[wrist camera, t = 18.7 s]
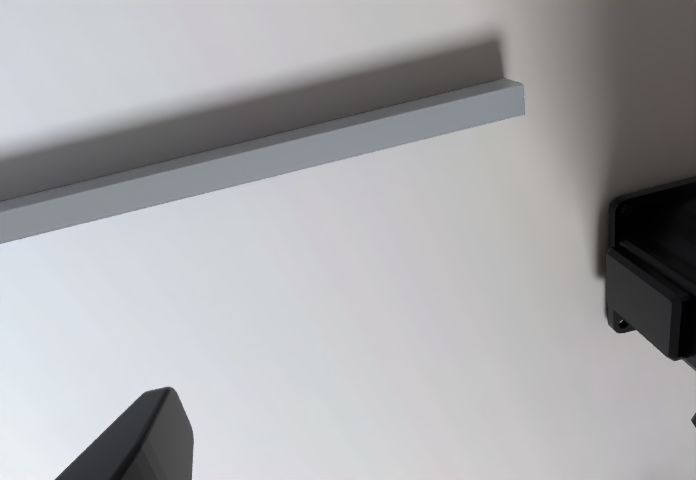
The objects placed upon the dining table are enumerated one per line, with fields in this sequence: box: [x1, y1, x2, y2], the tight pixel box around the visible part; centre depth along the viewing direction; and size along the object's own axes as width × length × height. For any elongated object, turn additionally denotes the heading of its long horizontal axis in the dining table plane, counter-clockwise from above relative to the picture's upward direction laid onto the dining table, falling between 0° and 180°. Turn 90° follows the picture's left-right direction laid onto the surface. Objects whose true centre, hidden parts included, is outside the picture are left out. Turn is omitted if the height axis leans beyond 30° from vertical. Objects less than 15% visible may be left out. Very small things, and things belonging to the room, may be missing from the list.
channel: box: [0, 78, 525, 244], centre depth 16 cm, size 22×8×2 cm, turn 102°
